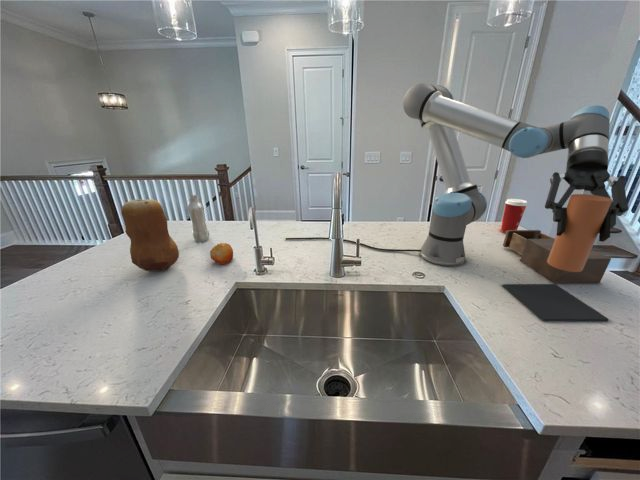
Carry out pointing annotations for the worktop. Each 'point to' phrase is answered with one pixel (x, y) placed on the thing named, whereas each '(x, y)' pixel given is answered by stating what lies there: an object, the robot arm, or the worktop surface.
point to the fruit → (222, 253)
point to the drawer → (521, 238)
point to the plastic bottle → (197, 219)
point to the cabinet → (537, 260)
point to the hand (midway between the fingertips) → (581, 235)
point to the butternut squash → (149, 235)
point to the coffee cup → (513, 214)
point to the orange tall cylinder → (579, 231)
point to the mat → (553, 303)
